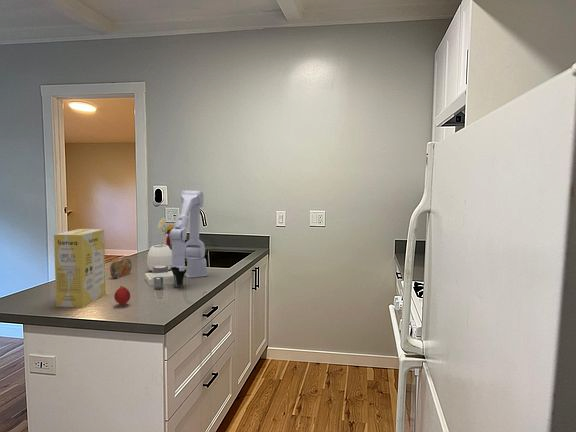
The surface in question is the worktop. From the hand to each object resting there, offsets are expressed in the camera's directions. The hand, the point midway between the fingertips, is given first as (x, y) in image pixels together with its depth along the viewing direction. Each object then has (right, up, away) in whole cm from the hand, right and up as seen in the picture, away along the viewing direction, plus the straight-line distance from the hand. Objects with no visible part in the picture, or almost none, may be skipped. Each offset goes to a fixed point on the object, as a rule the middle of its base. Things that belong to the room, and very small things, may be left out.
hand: (178, 283), depth 192 cm
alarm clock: (-29, +8, +106) cm, 110 cm away
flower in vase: (-28, +5, +73) cm, 78 cm away
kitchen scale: (-10, 0, +9) cm, 14 cm away
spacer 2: (0, -1, 0) cm, 1 cm away
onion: (-14, -4, -29) cm, 33 cm away
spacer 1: (-8, -2, -4) cm, 9 cm away
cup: (-18, +1, +31) cm, 36 cm away
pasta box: (-33, -3, -23) cm, 40 cm away
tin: (-34, 0, +19) cm, 39 cm away
